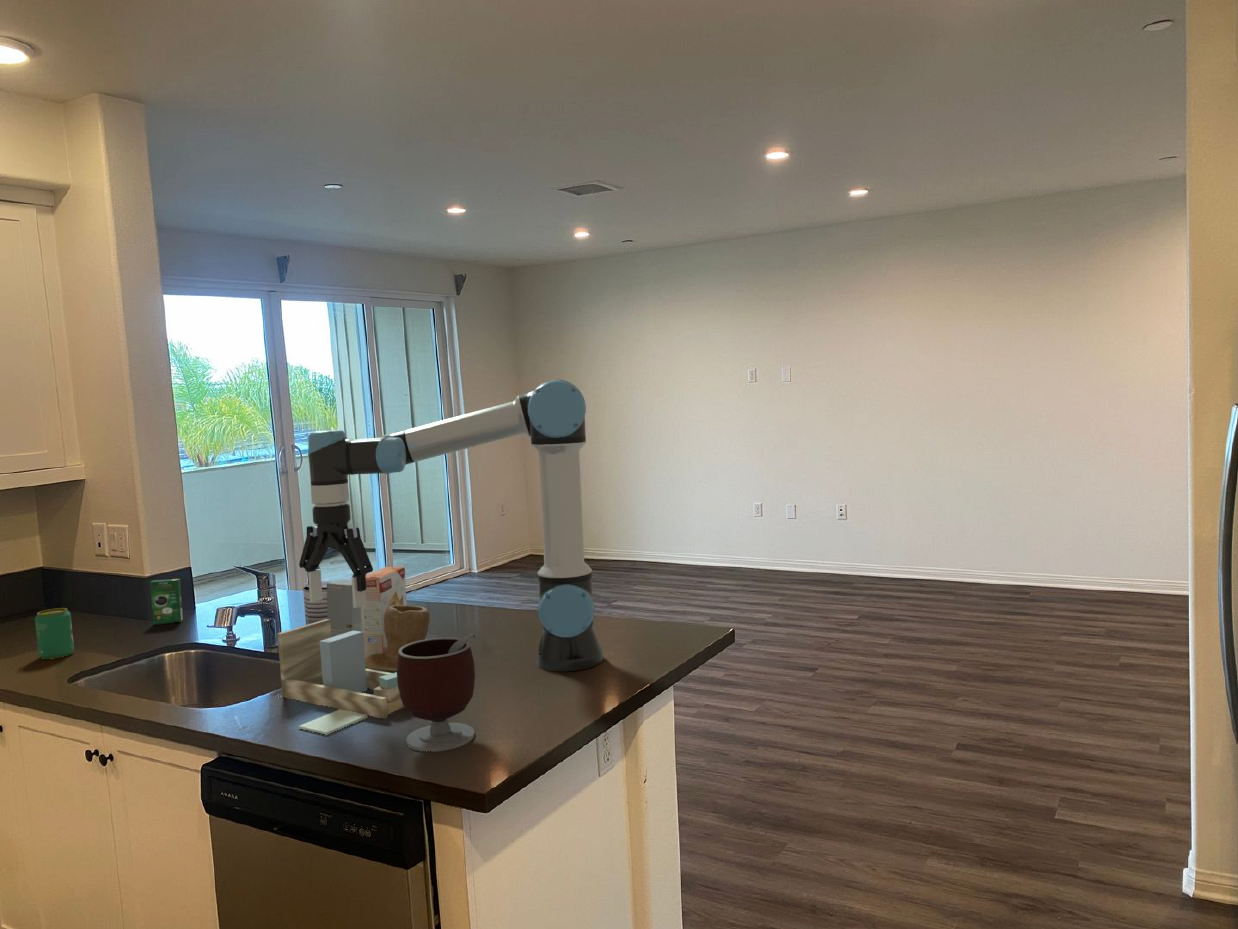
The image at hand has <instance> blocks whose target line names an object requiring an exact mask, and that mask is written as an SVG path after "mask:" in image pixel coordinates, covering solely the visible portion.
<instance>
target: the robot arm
mask: <svg viewBox="0 0 1238 929" xmlns="http://www.w3.org/2000/svg"><path fill="white" fill-rule="evenodd" d="M578 388H579V387H577V386H576V385H575V384H573V383H571V382H569V381H566V380H565V379H552V380H547V381H546V380H545V381H543V382H542V383H540V384H539V385H538V386H536V387H535V389H534V390H531V391H529V392H526V393H521V394H519V395H517V396H516V397H515V399H514V400H513V401H510V402H505V403H501V404H498V405H494V406H491V407H488V408H483V409H480V410H475V411H471V412H469V413H464V414H461V415H460V414H459V415H458V416H452V417H449V418H446V419H441V420H437V421H434V422H431V423H427V424H423V425H419V426H417V427H412V428H408V429H405V430H402V431H398V432H397V431H396V432H393V433H388V434H384V435H381V436H378V437H370V438H369V437H367V438H356V439H355V438H347V437H346V433H345V431H344V430H342V429H341V430H340V429H338V430H336V429H333V430H332V429H331V430H316V431H312V432H310V434H309V435H308V436H307V440H308V441H307V442H308V443H307V445H308V446H307V448H308V452H307V455H308V464H309V465H308V467H309V476H310V497H311V498H310V499H311V503H312V504H313V505H314V506H313V507H312V508H311V509H312V510H311V511H312V521H313V524H314V525H308V526H306V536H305V541H304V545H303V547H302V553H301V556H300V560H299V563H298V564H299V567H300V568H301V569H302V568H303V569H304V570H305V572H306V575H307V576H306V577H307V583H308V585H309V592H310V602H315V601H319V600H323V597H322V582H321V581H322V573H321V572H322V570H321V567H320V564H321V563H322V561H323V559H324V557H325V555H326V553H327V552H328V549H333V550H336V551H337V552H340V554H341V555H342V557H343V559H344V560H345V562H346V564H347V565H348V568H349V569H350V571H351V572H352V573H353V574H352V575H351V580H352V593H353V608H358V607H361V606H365V605H366V596H365V590H366V575H368V574H370V573H372V572H374V568H373V565H372V562H371V560H370V558H369V555H368V552H367V550H366V548H365V545H364V543H363V540H362V537H361V531H360V528H359V526H356V527H351V528H349V526H348V523H349V522H350V521H351V519H352V518H351V505H350V504H349V503H348V501H350V494H349V491H350V490H349V479H348V478H349V475H350V476H352V475H353V476H355V475H373V474H374V475H377V474H385V475H389V474H393V473H401V472H403V471H404V469H405V467H406V465H410V464H413V463H417V462H420V461H424V460H429V459H432V458H437V457H439V456H442V455H447V454H450V453H451V454H452V453H454V452H458V451H462V450H465V449H469V448H473V447H477V446H481V445H485V444H489V443H492V442H493V443H494V442H497V441H500V440H504V439H509V438H512V437H515V436H519V435H525V436H526V437H528V438H529V437H530V446H531V447H532V448H533V449H534V450H535V451H536V452H537V453H538V458H539V459H538V462H539V463H538V464H539V485H540V486H539V487H540V502H541V503H540V505H541V524H542V525H541V526H542V542H543V543H542V544H543V546H542V547H543V563H544V564H543V566H541V567H540V569H539V570H538V571H537V585H538V586H537V587H538V606H537V615H538V616H537V617H538V618H539V620H540V621H539V622H540V623H541V624H542V633H541V637H540V641H539V646H538V648H537V649H538V650H537V653H536V654H537V655H536V660H537V666H538V667H539V668H541V669H543V670H546V671H552V672H574V671H575V672H576V671H581V670H582V671H583V670H585V669H587V670H588V669H590V668H594V667H596V666H598V665H600V664H601V663H602V662H603V660H604V659H603V658H604V656H603V655H604V654H603V648H602V647H601V644H600V642H599V639H598V636H597V632H596V630H595V628H594V618H595V612H596V605H595V603H594V590H593V589H594V588H593V573H592V572H593V569H592V568H591V567H590V565H589V564H588V563H587V562H585V550H584V549H585V548H584V546H585V545H584V528H583V527H584V526H583V505H582V503H583V502H582V486H581V484H582V483H581V479H582V478H581V464H580V463H581V461H580V457H581V456H580V451H581V449H582V448H583V447H584V446H585V445H586V444H587V436H586V435H587V434H586V432H587V431H586V412H587V409H586V408H587V406H586V400H585V398H584V395H583V393H582V392H581V391H580V389H578ZM600 662H601V663H600ZM599 663H600V664H599Z"/></svg>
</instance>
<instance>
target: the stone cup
mask: <svg viewBox="0 0 1238 929" xmlns="http://www.w3.org/2000/svg"><path fill="white" fill-rule="evenodd" d="M430 617H431V616H430V612H429V610H428V609H427V608H426V607H424V606H419V605H408V604H407V605H403V606H402V605H393V606H389V607H388V608H387V610H386V612H385V615H384V629H385V635H386V640H387V645H388V650H387V651H386V652H385V653H379V654H373V655H370V656H368V657H366V658H365V668H366V669H371V670H377V671H383V672H388V673H395V672H397V661H398V655H399V653H398V651H399V649H400V648H401V647H403V646H404V645H407V644H409V643H412V642H416V641H420V640H425V639H426V638H427V635H428V631H429V624H430Z"/></svg>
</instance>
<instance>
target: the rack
mask: <svg viewBox="0 0 1238 929" xmlns="http://www.w3.org/2000/svg"><path fill="white" fill-rule="evenodd" d="M276 634H277V645H278V646H277V647H278V658H279V659H278V660H279V667H280V668H279V669H280V680H281V681H280V682H281V691H282V693H281V694H282V698H283V697H285V699H288V700H293V699H296V700H295V701H297V700H300V701H299V702H302V701H303V702H304V703H307V702H308V704H312V705H316V706H321V705H323V706H322V707H325V706H328V707H327V708H330V707H333V708H332V709H335V708H337V709H336V710H339V709H341V710H346V711H352V712H356V713H360V714H365V715H369V716H368V717H372V716H373V717H372V718H377V719H381V718H385V719H387V718H388V717H389V716H388V714H387V701H386V697H381V696H376V695H374V694H369V693H365V692H363V693H360V692H355V691H350V690H345V689H340V688H335V687H329V686H324V685H323V679H322V666H321V654H320V641H322V640H325V639H328V638H331V625H330V619H325V620H322V621H318V622H315V623H311V624H308V625H306V624H305V625H302V626H298V627H295V628H291V629H288V630H284V631H281V632H278V633H276ZM392 673H393V672H388V671H379V670H372V669H366V682H367V689H368V688H369V690H373V689H375V688H377V687H379V686H380V683H379V677H381V676H385V675H388V674H392Z"/></svg>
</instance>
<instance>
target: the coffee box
mask: <svg viewBox="0 0 1238 929" xmlns="http://www.w3.org/2000/svg"><path fill="white" fill-rule="evenodd" d="M149 585H150V597H151V599H150V600H151V612H152V625H153V626H155V625H164V624H166V623H167V624H175V623H174V622H179V623H182V622H183V621H184V618H183V603H182V602H183V601H182V600H183V599H182V587H181V585H182V584H181V578H172V579H154V580H151V581H150V583H149ZM182 620H183V621H182Z"/></svg>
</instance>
